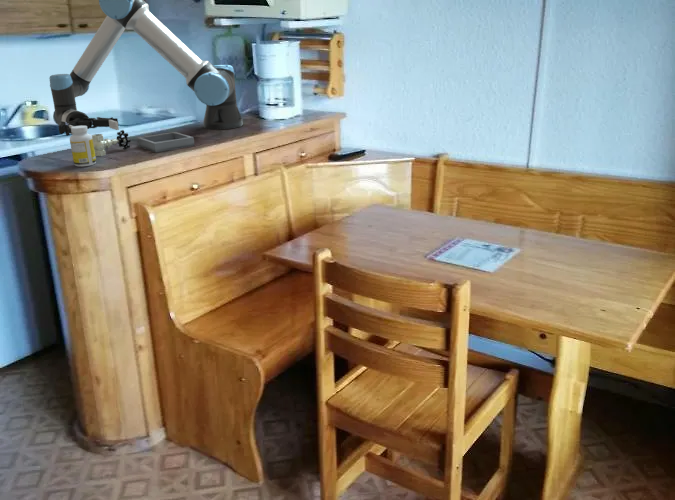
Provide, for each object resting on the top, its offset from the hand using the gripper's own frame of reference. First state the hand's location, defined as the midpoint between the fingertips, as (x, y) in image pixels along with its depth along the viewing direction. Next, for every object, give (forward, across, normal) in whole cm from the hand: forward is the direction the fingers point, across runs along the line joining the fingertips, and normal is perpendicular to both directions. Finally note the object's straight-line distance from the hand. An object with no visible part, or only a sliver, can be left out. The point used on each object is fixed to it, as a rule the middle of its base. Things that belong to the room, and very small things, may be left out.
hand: (97, 128), depth 219 cm
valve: (+6, -1, -8) cm, 10 cm away
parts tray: (+11, -18, -7) cm, 23 cm away
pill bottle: (+18, +11, -7) cm, 22 cm away
